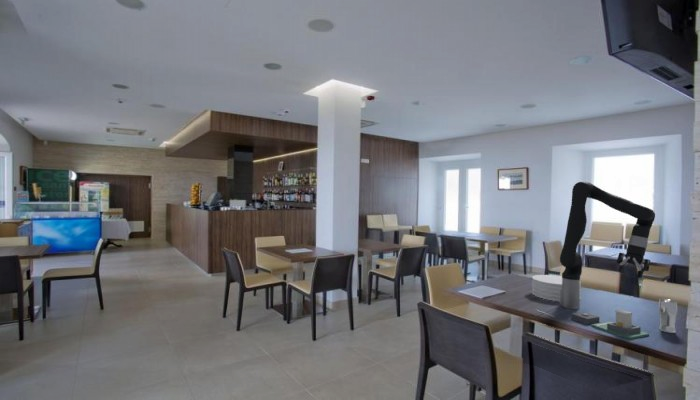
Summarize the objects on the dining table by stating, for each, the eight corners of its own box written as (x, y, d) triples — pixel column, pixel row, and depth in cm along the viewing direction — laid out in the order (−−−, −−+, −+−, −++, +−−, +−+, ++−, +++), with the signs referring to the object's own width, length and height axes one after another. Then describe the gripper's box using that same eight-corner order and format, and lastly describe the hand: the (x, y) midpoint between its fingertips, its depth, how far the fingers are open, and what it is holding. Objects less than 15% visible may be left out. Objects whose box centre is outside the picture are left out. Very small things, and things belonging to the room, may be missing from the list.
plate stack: (590, 303, 224) (590, 284, 224) (545, 302, 225) (545, 284, 225) (564, 291, 252) (564, 275, 252) (524, 290, 253) (524, 274, 253)
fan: (571, 319, 194) (571, 312, 194) (582, 317, 197) (583, 310, 197) (587, 324, 186) (587, 317, 186) (599, 322, 189) (599, 315, 189)
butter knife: (537, 308, 211) (533, 309, 210) (580, 325, 185) (576, 325, 184) (537, 309, 211) (533, 310, 210) (580, 326, 185) (576, 326, 184)
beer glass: (667, 328, 181) (668, 298, 181) (680, 333, 174) (681, 302, 174) (654, 328, 181) (654, 298, 181) (667, 333, 174) (667, 302, 174)
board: (591, 326, 183) (591, 319, 183) (610, 323, 188) (610, 316, 188) (629, 339, 166) (629, 332, 166) (649, 335, 171) (649, 328, 171)
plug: (614, 329, 177) (615, 311, 176) (621, 328, 178) (622, 310, 178) (624, 332, 172) (624, 313, 172) (631, 331, 174) (631, 312, 174)
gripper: (618, 241, 192) (611, 270, 193) (647, 247, 179) (639, 279, 180) (627, 242, 195) (620, 271, 196) (657, 249, 181) (649, 280, 182)
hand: (629, 275), depth 188 cm, fingers open, 8 cm apart
